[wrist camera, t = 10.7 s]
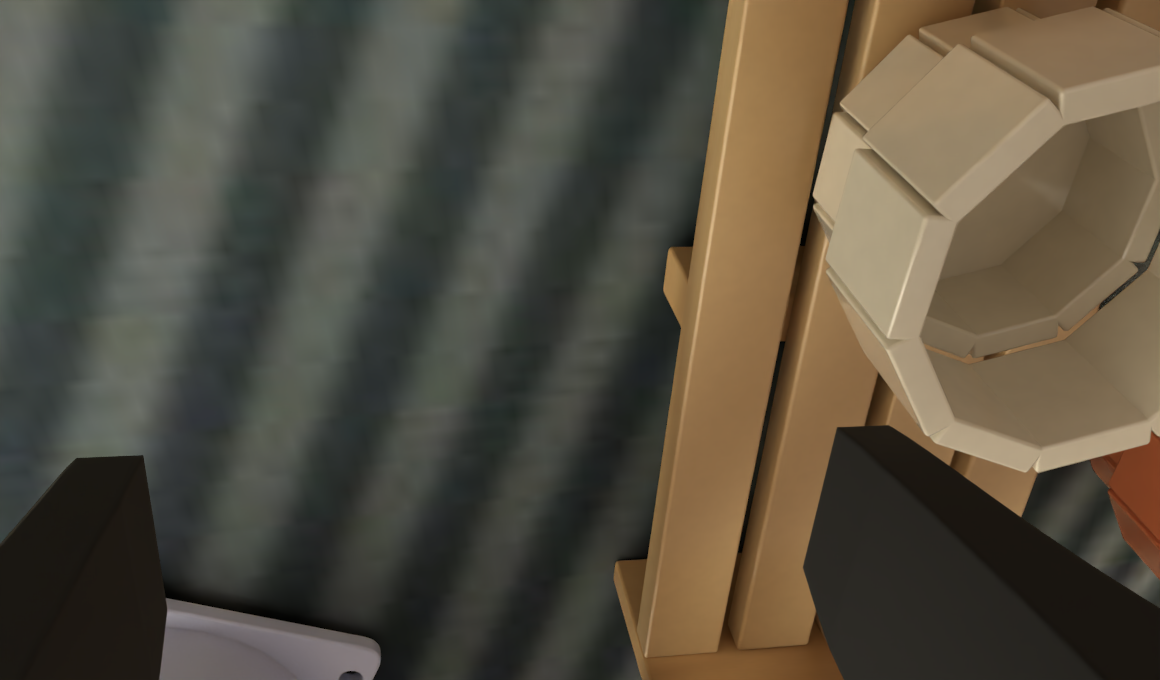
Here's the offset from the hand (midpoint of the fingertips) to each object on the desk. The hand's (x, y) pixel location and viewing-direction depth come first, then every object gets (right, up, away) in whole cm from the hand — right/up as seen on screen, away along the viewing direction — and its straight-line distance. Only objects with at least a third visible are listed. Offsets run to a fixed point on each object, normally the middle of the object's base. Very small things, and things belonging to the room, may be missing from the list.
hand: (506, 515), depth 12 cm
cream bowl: (+7, +5, +6) cm, 10 cm away
